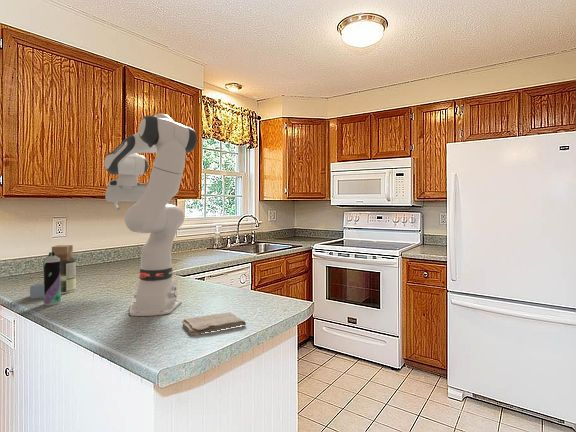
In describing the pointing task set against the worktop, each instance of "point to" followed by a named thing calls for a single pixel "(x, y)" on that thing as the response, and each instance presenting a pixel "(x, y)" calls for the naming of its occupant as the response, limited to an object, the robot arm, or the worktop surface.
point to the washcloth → (211, 323)
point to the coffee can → (68, 276)
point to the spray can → (52, 280)
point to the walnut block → (63, 252)
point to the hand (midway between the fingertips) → (128, 211)
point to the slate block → (37, 290)
